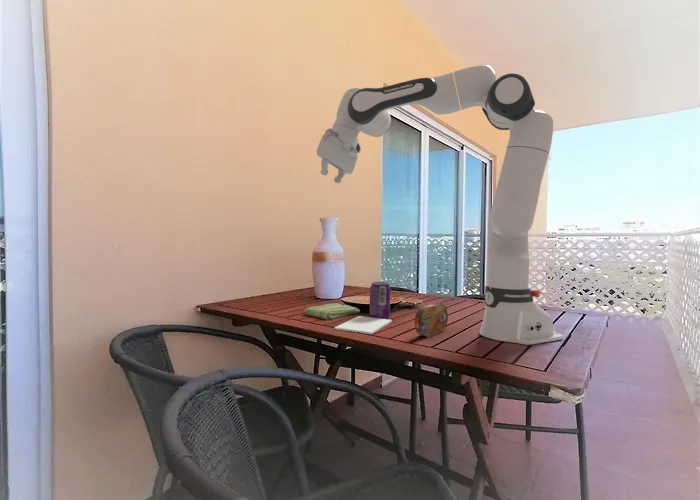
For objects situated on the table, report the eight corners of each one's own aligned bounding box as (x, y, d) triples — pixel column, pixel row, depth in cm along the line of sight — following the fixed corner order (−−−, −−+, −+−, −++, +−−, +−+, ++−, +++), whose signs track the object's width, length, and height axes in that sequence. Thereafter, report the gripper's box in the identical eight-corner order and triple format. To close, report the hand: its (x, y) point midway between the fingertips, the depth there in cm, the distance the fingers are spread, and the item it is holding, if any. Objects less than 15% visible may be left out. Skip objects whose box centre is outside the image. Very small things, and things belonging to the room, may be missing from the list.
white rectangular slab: (358, 317, 129) (358, 316, 129) (392, 321, 124) (392, 319, 124) (334, 329, 113) (334, 327, 113) (371, 334, 108) (371, 332, 108)
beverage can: (393, 316, 131) (394, 282, 131) (384, 320, 125) (384, 284, 125) (375, 314, 135) (376, 281, 135) (365, 317, 129) (366, 283, 129)
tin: (422, 339, 103) (422, 309, 103) (412, 337, 105) (413, 307, 105) (448, 330, 114) (449, 302, 114) (439, 328, 117) (439, 301, 116)
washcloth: (361, 314, 138) (361, 305, 137) (328, 321, 124) (328, 312, 124) (335, 308, 146) (335, 300, 146) (301, 315, 133) (301, 306, 132)
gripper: (336, 127, 113) (323, 171, 113) (363, 150, 131) (351, 188, 132) (319, 124, 115) (306, 167, 116) (347, 147, 134) (336, 184, 134)
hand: (330, 178), depth 124 cm, fingers open, 8 cm apart
